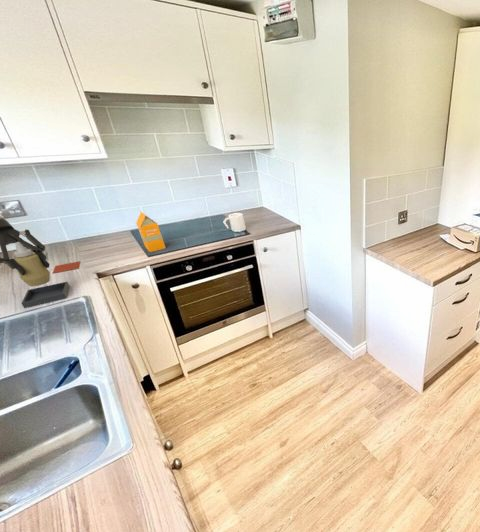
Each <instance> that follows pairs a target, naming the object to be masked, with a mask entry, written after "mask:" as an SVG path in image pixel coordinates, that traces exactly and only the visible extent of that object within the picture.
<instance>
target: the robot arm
mask: <svg viewBox="0 0 480 532" xmlns="http://www.w3.org/2000/svg"><path fill="white" fill-rule="evenodd" d="M20 236H22V237H25V239H26V240H28V241H29V242H28V241H26V240H24V239H23V238H22V237H20ZM16 242H20V243H21V244H22V245H23V246H24V247H25V248H26V249H31V251H32V253H33V254H37V255H38V257H39V258H40V259H41V261H42V263H43V264H44V266H45V267H46V268H47V269H48V268H50V262H48V260H47V255H46V254H45V253H44V252H45V251H46V246H45V245H44V244H43V243H42V242H41V241H39V240H38V239H37V238H36V237H35V236H34V235H32V234H31V231H30V229H25V230H21V231H20V230H19V229H18V230H17V229H16V228H14V226H13V225H12V224H11V223H10V222H9V221H8V220H7V219H6V218H5V217H4V216H3V215H2V213H0V250H1V254H2V257H0V264H5V265H7V266H8V268H10V270H11V269H12V270H16V271H17V272H19V273H20V274H21V275H22V276H23V275H25V271H24V270H23V269H22V268H21V266H20V265H19V264H18V263H17V262H16V261H15V260H14V258H10V255H9V251H8V248H7V246H8V245H11V244H15V243H16ZM19 273H18V274H19Z"/></svg>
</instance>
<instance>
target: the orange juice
mask: <svg viewBox="0 0 480 532" xmlns="http://www.w3.org/2000/svg"><path fill="white" fill-rule="evenodd" d="M135 224H136V226H137V230H138V232H139V235H140V237H141V240H142V242H143V244H144V248H145V249H146V250H147V251H148V252H149V253H152V252H156V251H160V250H164V249H166V245H165V242H164V239H163V236H162V233H161V230H160V227H159V224H158V223H157V222H156V221H155V220H154V219H151V218H150V217H149V216H147V215H146V214H145V213H143V211H141V212H140V213H139V216H138V217H137V220H136V222H135Z"/></svg>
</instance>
